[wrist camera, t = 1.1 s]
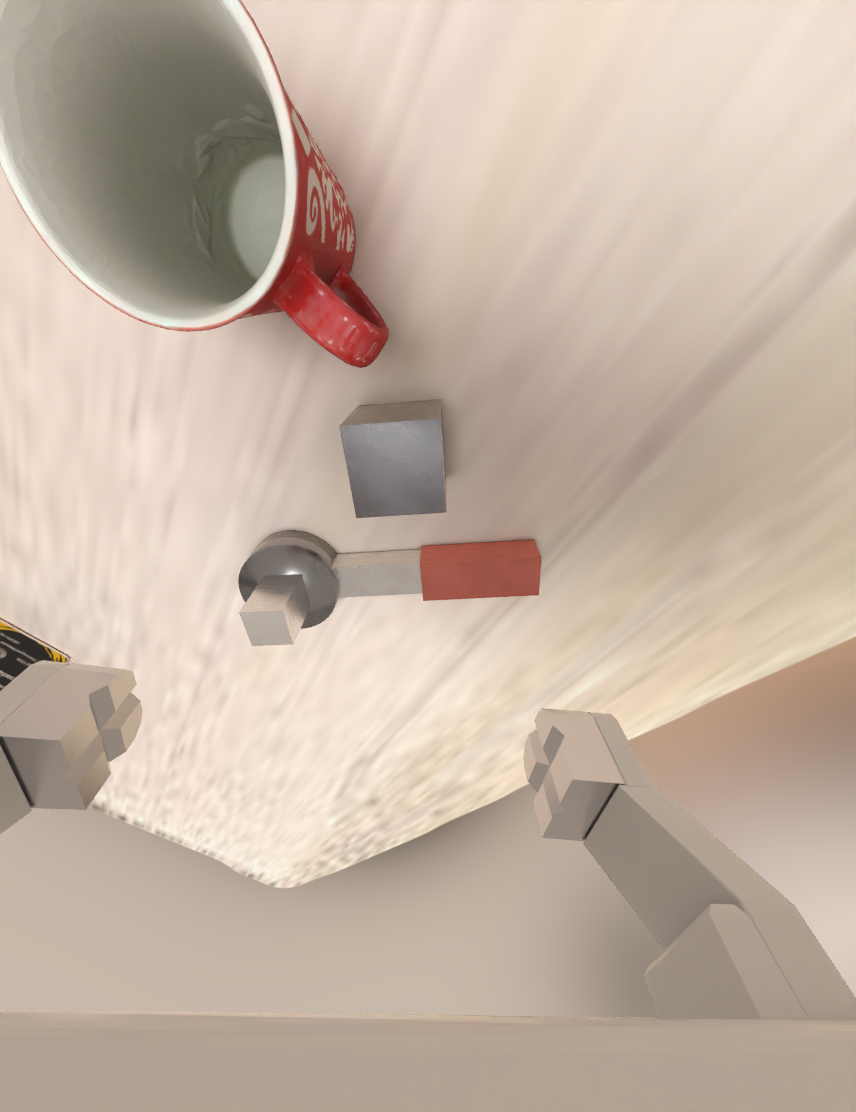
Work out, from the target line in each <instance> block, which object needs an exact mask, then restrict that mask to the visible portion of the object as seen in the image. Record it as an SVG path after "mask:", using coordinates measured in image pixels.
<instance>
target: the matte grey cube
mask: <svg viewBox="0 0 856 1112" xmlns="http://www.w3.org/2000/svg"><path fill="white" fill-rule="evenodd" d="M340 431H341V436H342V442H343V447H344V453H345V458H346V464H347V469H348V475H349V480H350V485H351V491H352V496H353V502H354V507H355V513H356V518H363V517H379V516H395V515H411V514H427V513H443V512H446V481H445V464H444V448H443V432H442V416H441V399H439V400H427V401H414V402H402V403H389V404H377V405H364V406H358V407H357V408H356V409H355V410H354V411H353V412H352V413H351V415H350V416H349V417H348V418H347V419H346V420H345V421H344V422H343V423H342V424H341V425H340Z"/></svg>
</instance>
